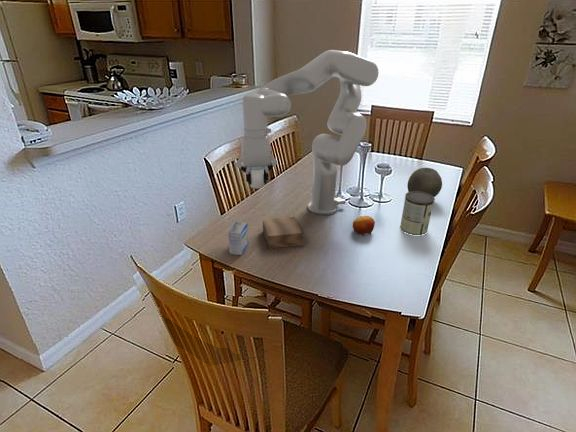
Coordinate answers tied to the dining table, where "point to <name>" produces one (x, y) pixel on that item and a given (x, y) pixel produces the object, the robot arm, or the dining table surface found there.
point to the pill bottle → (257, 176)
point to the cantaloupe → (425, 181)
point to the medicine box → (238, 238)
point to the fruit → (363, 225)
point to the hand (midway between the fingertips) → (257, 182)
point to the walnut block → (282, 232)
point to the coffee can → (416, 212)
